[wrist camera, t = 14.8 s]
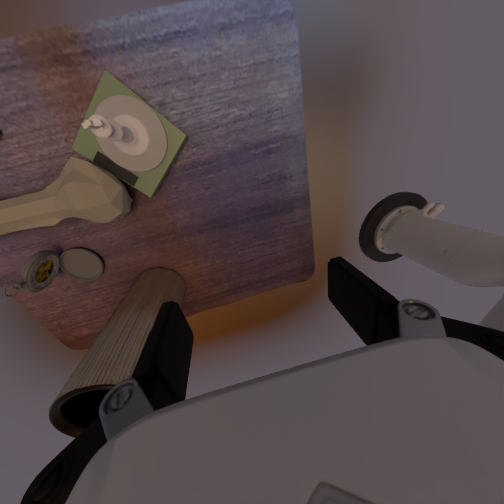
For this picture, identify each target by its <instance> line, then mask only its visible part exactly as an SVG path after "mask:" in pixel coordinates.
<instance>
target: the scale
mask: <svg viewBox="0 0 504 504" xmlns="http://www.w3.org/2000/svg"><path fill="white" fill-rule="evenodd" d="M94 114H98V115H102V116H104V117H105V118H106V119H113V118H115V117H116V116H118V115H122V114H126V115H131V116H134V117H136V118H138V119H139V120H141V121H142V122H143V123H144V124H145V126H146V127H147V129H148V130H149V133H150V136H151V146H150V149H149V151H148V152H147V153H146V154H145V155H143V156H139V157H134V156H130V155H127V154H125V153H123V152H122V151H120V150H119V149H118V148H117V147H116V146H115V144H114V143H113V141H111V140H109V139H107V138H100V137H97V136H96V135H95V134H93V132H92V131H91V130H90V129H84V128H83V126H82V125H81V127H80V130H79V132H78V135H77V137H76V139H75V142H74V144H73V147H72V150H74V151H76V152H77V153H79V154H81V155H82V156H84V157H85V158H87V159H89V160H90V161H92V162H94V163H95V164H97V165H98V166H100V167H102V168H103V169H105V170H107V171H108V172H110V173H112V174H114V175H115V176H116V177H118V178H119V179H121V180H123V181H124V182H126V183H128V184H129V185H131V186H132V187H134V188H136V189H137V190H139V191H141V192H142V193H144V194H145V195H147V196H149V197H150V198H151V197H153V196H155V195H156V193H157V191H158V189H159V188H160V186H161V184H162V182H163V181H164V179H165V177H166V176H167V174H168V172H169V170H170V169H171V167H172V165H173V163H174V162H175V160H176V158H177V157H178V155H179V153H180V151H181V150H182V148H183V146H184V144H185V143H186V141H187V139H188V136H187V135H185V134H184V133H183V132H182V131H181V130H179V129H178V128H177V127H176V126H174V125H173V124H172V123H171V122H169V121H168V120H167V119H166V118H165V117H163V116H162V115H161V114H160V113H158V112H157V111H156V110H155V109H153V108H152V107H151V106H150V105H149V104H147V103H146V102H145V101H144V100H142V99H141V98H140V97H139V96H137V95H136V94H135V93H134V92H132V91H131V90H130V89H129V88H128V87H126V86H125V85H124V84H123V83H121V82H120V81H119V80H118V79H116V78H115V77H114V76H113V75H112V74H110V73H109V72H108V71H107V70H104V72H103V75H102V77H101V80H100V82H99V84H98V87H97V89H96V92H95V94H94V96H93V99H92V101H91V104H90V106H89V108H88V111H87V113H86V115H85V118H84V120H88V119H89V118H90V116H92V115H94ZM84 120H83V123H84Z"/></svg>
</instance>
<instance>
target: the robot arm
mask: <svg viewBox="0 0 504 504" xmlns="http://www.w3.org/2000/svg"><path fill="white" fill-rule="evenodd" d="M444 208H445V206H444V205H442V204H440V203H436V204H435V203H433V202H428V203H427V204H426V205H425V206H424V208H423V209H420V210H419V209H418V208H416V207H414V206H409V205H404V206H399V207H397V208H395V209H393V210H391V211H390V212H389V213H387V214H386V215H385V216H384V217H383V218H382V220H381V221H380V222H379V224H378V226H377V228H376V231H375V234H374V243H375V246H376V248H377V249H378V250H379V251H381V252H383V253H386V254H394V253H399V254H401V255H403V256H405V257H408V258H409V259H411V260H413V261H415V262H418V263H420V264H422V265H424V266H426V267H428V268H430V269H432V270H434V271H436V272H438V273H440V274H442V275H444V276H446V277H448V278H450V279H453V280H455V281H457V282H459V283H461V284H464V285H468V286H474V287H495V286H504V237H502V236H499V235H495V234H491V233H487V232H483V231H479V230H475V229H471V228H467V227H463V226H459V225H456V224H451V223H448V222H444V221H440V220H436V219H435V218H434V217H435V216H436V215H437V214H439V213H440V212H441V211H442V210H443V209H444ZM429 210H430V211H429ZM428 211H429V212H428ZM427 212H428V213H427ZM328 297H329V300H330V301H331V302H332V304H333V305H334V306H335V307H336V309H337V310H338V311H339V312H340V314H341V315H342V316H343V317H344V318H345V320H346V321H347V322H348V323H349V325H350V326H351V327H352V328H353V329H354V331H355V332H356V333H357V334H358V336H360V338H361V339H362V340H363V342H364V343H365V344H366V345H367V346H364V347H361V348H357V349H354V350H350V351H347V352H343V353H340V354H336V355H333V356H329V357H326V358H323V359H319V360H316V361H312V362H309V363H305V364H302V365H299V366H295V367H292V368H289V369H285V370H282V371H278V372H275V373H272V374H269V375H265V376H262V377H259V378H255V379H252V380H248V381H245V382H242V383H239V384H235V385H232V386H228V387H225V388H222V389H219V390H215V391H212V392H209V393H205V394H202V395H200V396H196V397H193V398H190V399H187V400H185V396H186V389H187V382H188V374H189V368H190V361H191V354H192V346H193V339H194V338H193V333H192V330H191V328H190V326H189V325H188V323H187V320H186V318H185V316H184V314H183V312H182V310H181V308H180V306H179V304H178V303H177V302H174V301H169V302H165V303H162V305H161V307H160V310H159V312H158V315H157V317H156V319H155V322H154V324H153V327H152V329H151V331H150V332H149V334H148V337H147V339H146V342H145V344H144V347H143V349H142V351H141V354H140V356H139V359H138V361H137V364H136V366H135V369H134V371H133V374H132V376H131V378H129V379H125V380H123V381H121V382H119V383H118V384H116V385H115V386H114V387H113V388H112V389H111V390H110V391H109V392H108V393H107V394H106V395H105V397H104V398H103V400H102V402H101V404H100V407H99V416H98V417H97V418H96V419H95V420H94V421H93V422H92V423H91V424H90V425H89V426H88V427H87V428H86V429H85V430H84V431H82V432H81V433H80V434H79V435H78V436H77V437H76V438H75V439H74V440H73V441H72V442H71V443H70V444H69V445H68V446H67V447H66V448H65V449H64V450H62V451H61V452H60V453H59V454H58V455H57V456H56V457H55V458H54V459H53V460H52V461H51V462H50V463H49V464H48V465H47V466H46V467H45V468H44V469H43V470H42V471H41V472H40V473H39V474H38V475H37V476H36V478H35V479H34V480H33V482H32V483H31V484H30V486H29V488H28V489H27V491H26V493H25V494H24V496H23V499H22V501H21V504H504V295H503V296H502V298H501V299H500V300H499V301H498V302H497V304H496V305H495V306H494V307H493V308H492V309H491V310H490V311H489V313H488V314H487V315H486V316H485V317H484V318H483V319H482V321H481V322H480V323H479V325H475V324H471V323H467V322H463V321H458V320H454V319H450V318H446V317H441V316H440V314H439V312H438V311H437V310H436V309H435V308H434V307H433V306H431V305H429V304H427V303H425V302H422V301H419V300H413V299H408V300H403V301H401V302H399V301H398V300H397V299H395V297H394V296H392V295H391V294H390V293H388V292H387V291H386V290H384V289H383V288H382V287H380V286H379V285H378V284H376V283H375V282H374V281H373V280H371V279H370V278H368V277H367V276H366V275H365V274H363V273H362V272H361V271H359V270H358V269H357V268H355V267H354V266H353V265H351V264H350V263H349V262H347V261H346V260H345V259H343V258H342V257H336V258H332V259H330V262H328Z"/></svg>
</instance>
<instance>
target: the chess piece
mask: <svg viewBox="0 0 504 504" xmlns="http://www.w3.org/2000/svg"><path fill="white" fill-rule="evenodd" d="M81 124H82V126H83V128H84V129H90V130H91V131H92V132H93V134H95V135H96V136H97V137H100V138H107V139H109V140H111V141H113V143H114V144H115V146H116V147H117V148H118V149H119V150H120V151H122V152H123V153H125V154H127V155H130V156H134V157H139V156H143V155H145V154H146V153H147V152H148V151H149V149H150V146H151V136H150V133H149V130H148V129H147V127H146V126H145V124H144V123H143V122H142V121H141V120H139V119H138V118H136V117H134V116H131V115H126V114H122V115H118V116H116V117H115V118H113V119H106V118H105V117H104V116H102V115H98V114H94V115H92V116H90V118H89V119H88V120H84V123H81Z"/></svg>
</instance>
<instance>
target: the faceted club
mask: <svg viewBox="0 0 504 504" xmlns="http://www.w3.org/2000/svg"><path fill="white" fill-rule="evenodd" d="M132 201H133V200H132V199H131V197H130V196H129V194H128V191H127V189H126V187H125V185H124V184H123V183H122V182H121V181H120V180H119V179H118V178H117V177H116V176H115V175H114V174H112V173H110V172H108V171H106V170H104V169H102V168H100V167H98V166H96V165H94V164H92V163H90V162H88V161H84V160H81V159H77V158H74V157H70V159H69V160H68V162H67V164H66V165H65V167H64V169H63V170H62V172H61V174H60V176H59V178H58V179H56V180H55V181H54V182H53V183H51V184H50V185H49V186H48V187H46V188H45V189H44V190H42V191H39V192H35V193H31V194H25V195H22V196H19V197H15V198H11V199H7V200H3V201H0V237H1V236H4V235H7V234H9V233H12V232H15V231H19V230H24V229H30V228H36V227H42V226H54V225H56V224H57V223H58V222H60V221H61V220H63V219H67V218H71V217H75V218H83V219H86V220H90V221H93V222H99V223H109V222H113V221H116V220H119V219H122V218H123V217H124V216H125V215H126V214H127V213H128V212H129V211H130V209H131V202H132Z"/></svg>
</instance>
